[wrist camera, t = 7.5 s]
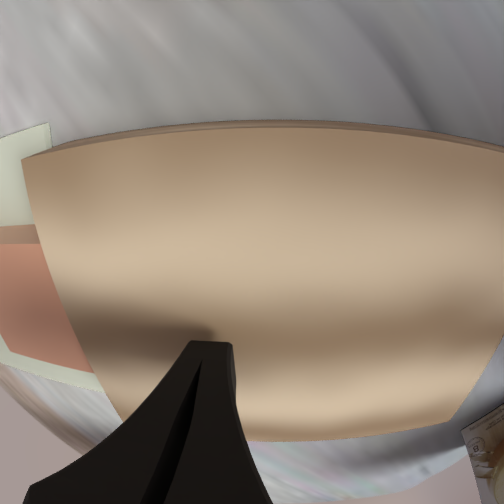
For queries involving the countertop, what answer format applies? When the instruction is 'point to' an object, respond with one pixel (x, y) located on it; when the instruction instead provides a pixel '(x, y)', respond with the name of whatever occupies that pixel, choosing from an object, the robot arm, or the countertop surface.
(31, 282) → the coaster
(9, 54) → the countertop surface
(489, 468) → the coffee box
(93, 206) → the board
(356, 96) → the countertop surface
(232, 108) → the countertop surface
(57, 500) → the robot arm
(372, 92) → the countertop surface
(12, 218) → the placemat
